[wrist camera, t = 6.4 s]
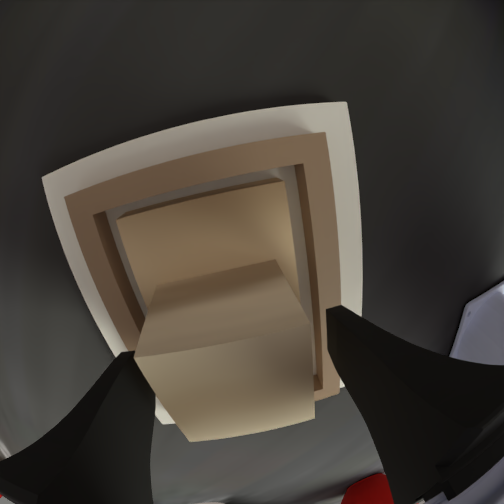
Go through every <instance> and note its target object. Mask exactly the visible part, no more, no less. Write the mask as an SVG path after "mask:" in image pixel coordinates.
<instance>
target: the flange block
mask: <svg viewBox="0 0 504 504" xmlns="http://www.w3.org/2000/svg"><path fill="white" fill-rule="evenodd" d="M116 223H117V226H118V230H119V233H120V236H121V239H122V242H123V245H124V248H125V251H126V254H127V257H128V260H129V263H130V265H131V268H132V271H133V274H134V276H135V279H136V282H137V284H138V287H139V289H140V292H141V295H142V297H143V300H144V302H145V304H146V307H147V309H148V313H147V316H146V319H145V322H144V325H143V328H142V331H141V334H140V338H139V341H138V344H137V348H136V351H135V355H134V359H135V361H136V363H137V365H138V366H139V368H140V370H141V371H142V373H143V375H144V376H145V378H146V380H147V381H148V383H149V384H150V386H151V388H152V389H153V391H154V392H155V394H156V395H157V397H158V398H159V400H160V401H161V403H162V404H163V406H164V407H165V409H166V410H167V412H168V413H169V414H170V416H171V417H172V419H173V420H174V421H175V423H176V424H177V425H178V427H179V428H180V430H181V431H182V432H183V433H184V435H185V436H186V437H187V439H188V440H189V441H190V442H195V441H205V440H214V439H222V438H229V437H235V436H241V435H247V434H252V433H258V432H263V431H267V430H272V429H276V428H281V427H285V426H289V425H293V424H296V423H300V422H304V421H307V420H311V419H314V418H315V407H314V378H313V357H312V340H311V326H310V322H309V320H308V318H307V316H306V314H305V312H304V311H303V309H302V307H301V304H300V294H299V285H298V276H297V267H296V259H295V251H294V243H293V235H292V228H291V221H290V213H289V206H288V200H287V193H286V186H285V181H283V180H281V179H279V178H277V177H276V178H271V179H265V180H260V181H254V182H249V183H244V184H239V185H234V186H229V187H225V188H220V189H215V190H211V191H206V192H202V193H198V194H193V195H189V196H185V197H181V198H177V199H173V200H169V201H165V202H161V203H157V204H153V205H149V206H146V207H142V208H138V209H135V210H131V211H128V212H125V213H124V214H122V215H121V216H120V217H119V218H118V219H116Z"/></svg>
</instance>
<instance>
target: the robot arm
mask: <svg viewBox="0 0 504 504" xmlns="http://www.w3.org/2000/svg"><path fill="white" fill-rule="evenodd" d="M326 327H327V350H328V352H329V355H330V357H331V360H332V362H333V365H334V367H335V369H336V371H337V373H338V375H339V377H340V378H341V380H342V382H343V384H344V385H345V387H346V389H347V390H348V392H349V394H350V395H351V397H352V399H353V401H354V402H355V404H356V406H357V407H358V409H359V411H360V413H361V414H362V416H363V418H364V420H365V422H366V424H367V427H368V429H369V432H370V434H371V436H372V439H373V441H374V444H375V446H376V449H377V451H378V454H379V457H380V459H381V462H382V465H383V468H384V471H385V474H386V477H387V480H388V484H389V487H390V491H391V494H392V498H393V502H394V504H417V503H419V502H421V501H423V500H424V501H425V503H424V504H504V281H503V282H501V283H499V284H498V285H496V286H495V287H493V288H492V289H490V290H488V291H487V292H485V293H484V294H482V295H480V296H479V297H477V298H475V299H473V300H472V301H470V302H468V303H467V304H466V306H465V308H464V311H463V315H462V319H461V322H460V326H459V329H458V332H457V335H456V338H455V341H454V344H453V347H452V350H451V353H450V356H449V357H448V356H444V355H441V354H438V353H435V352H432V351H429V350H427V349H424V348H421V347H419V346H416V345H414V344H411V343H409V342H407V341H405V340H403V339H401V338H399V337H397V336H395V335H393V334H391V333H389V332H387V331H385V330H383V329H381V328H380V327H378V326H376V325H374V324H373V323H371V322H369V321H367V320H366V319H364V318H362V317H361V316H359V315H357V314H356V313H354V312H353V311H351V310H349V309H348V308H346V307H344V306H343V305H338V306H335V307H331V308H328V309H326ZM134 355H135V350H133V351H126V352H121V353H120V354H119V355H118V356H117V357H116V358H115V359H114V360H113V362H112V363H111V364H110V365H109V367H108V368H107V369H106V370H105V371H104V373H103V374H102V375H101V376H100V378H99V379H98V380H97V381H96V383H95V384H94V385H93V386H92V388H91V389H90V390H89V391H88V392H87V393H86V395H85V396H84V397H83V398H82V399H81V400H80V401H79V403H78V404H77V405H76V406H75V407H74V408H73V409H72V410H71V412H70V413H69V414H68V415H67V416H66V417H65V418H63V419H62V420H61V421H60V422H59V423H58V424H57V425H56V426H55V427H54V428H52V429H51V430H50V431H49V432H48V433H46V434H45V435H44V436H43V437H41V438H40V439H39V440H37V441H36V442H34V443H33V444H32V445H30V446H29V447H27V448H25V449H24V450H22V451H20V452H19V453H17V454H15V455H13V456H11V457H9V458H7V459H4V460H2V461H0V494H1V495H2V496H4V497H5V498H7V499H8V500H10V501H12V502H13V503H15V504H153V498H152V489H151V476H150V453H151V443H152V435H153V426H154V418H155V409H156V394H155V392H154V391H153V389H152V388H151V386H150V384H149V383H148V381H147V380H146V378H145V376H144V375H143V373H142V371H141V370H140V368H139V366H138V365H137V363H136V361H135V359H134Z"/></svg>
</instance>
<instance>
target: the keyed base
mask: <svg viewBox="0 0 504 504" xmlns="http://www.w3.org/2000/svg"><path fill="white" fill-rule="evenodd" d="M276 177H277V178H279V179H281V180H283V181H285V186H286V193H287V200H288V206H289V213H290V221H291V228H292V235H293V243H294V251H295V259H296V267H297V276H298V285H299V294H300V304H301V307H302V309H303V311H304V312H305V314H306V316H307V318H308V320H309V322H310V326H311V340H312V357H313V378H314V401H317V400H320V399H324V398H327V397H330V396H333V395H336V394H339V390H340V388H341V387H344V386H345V385H344V384H343V382H342V380H341V378H340V377H339V375H338V373H337V371H336V369H335V367H334V365H333V362H332V360H331V357H330V355H329V352H328V350H327V327H326V309H328V308H331V307H335V306H338V305H343V306H344V307H346V308H348V309H349V310H351V311H353V312H354V313H356V314H357V315H359V316H361V317H362V281H363V266H362V230H361V212H360V198H359V186H358V176H357V167H356V159H355V151H354V144H353V137H352V130H351V124H350V118H349V112H348V107H347V102H329V103H313V104H301V105H291V106H282V107H274V108H267V109H260V110H253V111H247V112H241V113H236V114H230V115H225V116H220V117H215V118H211V119H206V120H202V121H197V122H193V123H189V124H185V125H181V126H177V127H174V128H170V129H166V130H163V131H159V132H156V133H153V134H149V135H146V136H143V137H140V138H137V139H134V140H131V141H128V142H125V143H122V144H119V145H116V146H113V147H111V148H108V149H105V150H103V151H100V152H97V153H95V154H92V155H90V156H88V157H85V158H83V159H80V160H78V161H76V162H73V163H71V164H69V165H67V166H64V167H62V168H60V169H58V170H56V171H54V172H52V173H50V174H47V175H45V176H43V177H42V182H43V186H44V190H45V193H46V197H47V201H48V204H49V208H50V211H51V215H52V218H53V221H54V224H55V227H56V230H57V233H58V236H59V239H60V242H61V245H62V247H63V250H64V253H65V255H66V258H67V260H68V263H69V265H70V268H71V270H72V273H73V275H74V277H75V280H76V282H77V284H78V287H79V289H80V291H81V293H82V295H83V297H84V300H85V302H86V304H87V306H88V308H89V310H90V312H91V314H92V316H93V318H94V320H95V322H96V323H97V325H98V327H99V329H100V331H101V333H102V335H103V336H104V338H105V340H106V342H107V343H108V345H109V347H110V349H111V350H112V352H113V354H114V355H115V357H117V356H118V355H119V354H120V353H121V352H126V351H133V350H135V351H136V348H137V344H138V341H139V338H140V334H141V331H142V328H143V325H144V322H145V319H146V316H147V313H148V309H147V307H146V304H145V302H144V300H143V297H142V295H141V292H140V289H139V287H138V284H137V282H136V279H135V276H134V274H133V271H132V268H131V265H130V263H129V260H128V257H127V254H126V251H125V248H124V245H123V242H122V239H121V236H120V233H119V230H118V226H117V223H116V219H118V218H119V217H120V216H121V215H122V214H124V213H125V212H128V211H131V210H135V209H138V208H142V207H146V206H149V205H153V204H157V203H161V202H165V201H169V200H173V199H177V198H181V197H185V196H189V195H193V194H198V193H202V192H206V191H211V190H215V189H220V188H225V187H229V186H234V185H239V184H244V183H249V182H254V181H260V180H265V179H271V178H276ZM155 415H156V416H157V418H158V419H159V420H160V422H161V423H162V424H173V423H175V421H174V420H173V419H172V417H171V416H170V414H169V413H168V412H167V410H166V409H165V407H164V406H163V404H162V403H161V401H160V400H159V398H158V397H157V395H156V409H155ZM177 426H178V425H177Z"/></svg>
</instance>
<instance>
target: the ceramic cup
mask: <svg viewBox="0 0 504 504" xmlns="http://www.w3.org/2000/svg"><path fill="white" fill-rule="evenodd" d="M341 504H394V502H393V498H392V494H391V491H390V487H389V484H388V480H387V477H386V475H384V474H382V473H379V474H375V475H372V476H370V477H367V478H365V479H363V480H360V481H358V482H356V483H355V484H353V485H351V486H350V487H349V488H347V492H346V493H345V495H344V497H343V499H342V502H341ZM417 504H418V503H417Z"/></svg>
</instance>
